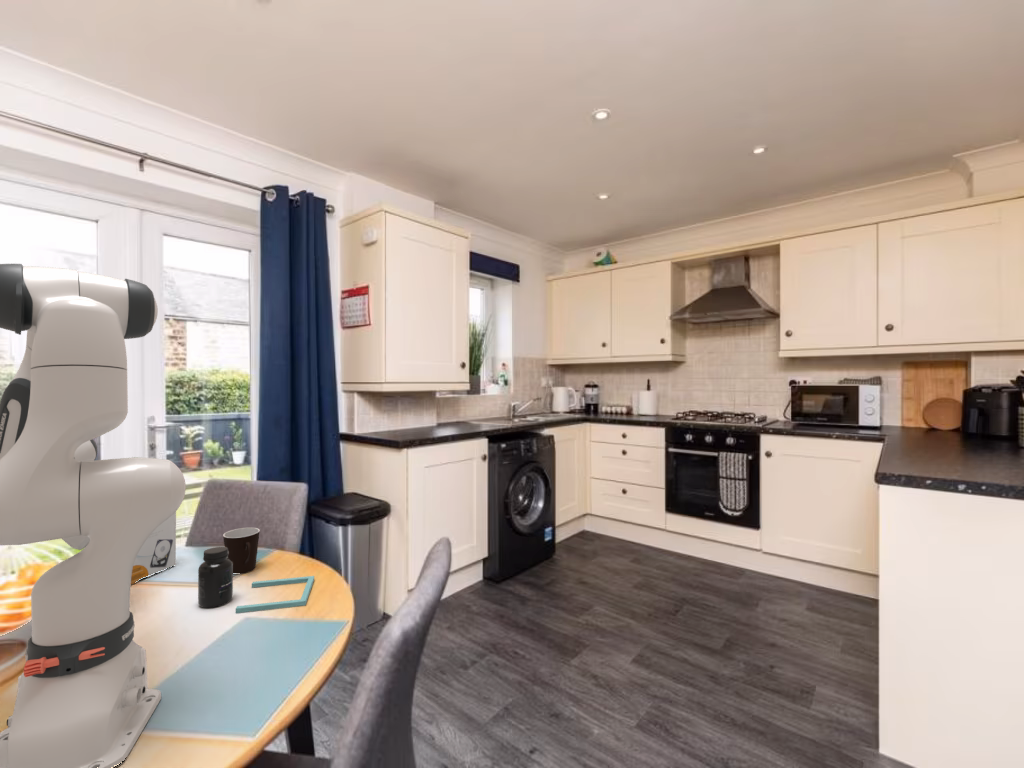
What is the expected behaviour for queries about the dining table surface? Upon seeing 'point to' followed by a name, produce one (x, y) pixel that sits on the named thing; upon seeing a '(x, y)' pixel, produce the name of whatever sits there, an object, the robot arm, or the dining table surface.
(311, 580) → the teal frame
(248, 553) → the coffee mug
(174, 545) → the hard drive box
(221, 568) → the supplement bottle
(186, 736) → the dining table surface
